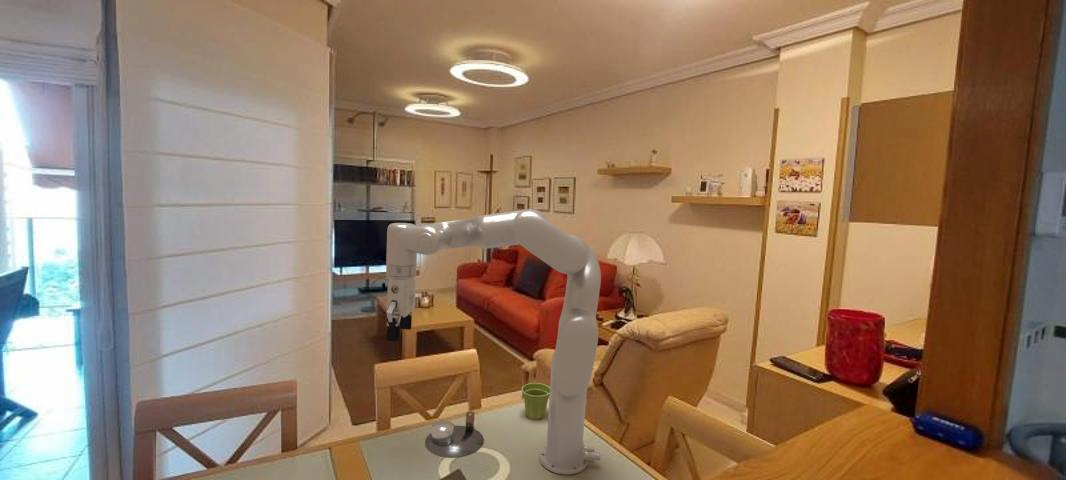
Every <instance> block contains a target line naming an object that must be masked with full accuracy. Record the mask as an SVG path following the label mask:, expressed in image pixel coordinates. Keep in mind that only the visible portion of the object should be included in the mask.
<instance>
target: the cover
mask: <svg viewBox="0 0 1066 480" xmlns="http://www.w3.org/2000/svg"><path fill="white" fill-rule="evenodd" d="M454 426H455V424H454V423H453V422H452V421H451V420H447V419H446V420H445V419H443V420H438V421H435V422H433V423H432V424H431V432H430V433H431V442H432V443H433V444H435V445H439V446H443V445H448V444H450V443H451V442H452V441H453V434H454Z"/></svg>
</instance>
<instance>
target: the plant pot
mask: <svg viewBox="0 0 1066 480" xmlns="http://www.w3.org/2000/svg"><path fill="white" fill-rule="evenodd" d="M521 392H522V395H523V400H524V401H523V402H524V411H525V416H527V418H528V419H529V420H537V421H538V420H540V419H544V418H545V416H546V412H547V406H548V403H549V399H550V385H547V384H544V383H540V382H531V383H526V384H525V385H524V384H523V385H522V387H521Z"/></svg>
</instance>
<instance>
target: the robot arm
mask: <svg viewBox="0 0 1066 480" xmlns="http://www.w3.org/2000/svg"><path fill="white" fill-rule="evenodd" d="M386 230H387V231H386V258H385V259H386V261H385V262H386V263H385V264H386V265H385V266H386V268H385V269H386V271H385V277H387V278H388V282H387V293H386V340H387V341H388V342H400V340H401V330H408V331H410V330H411V329H412V323H413V322H412V319H413V317H412V315H413V311H414V310H415V308H416V281H415V279H416V277H417V262H418V261H417V260H418V258H417V257H418V254H420V255H424V256H432V255H434V254H438V253H439V252H441V251H443V250H448V249H456V248H465V247H478V248H480V249H494V248H500V247H509V246H516V245H517V246H518V245H520V246H521V247H523V248H524V249H525V250H526V251H528V252H530V253H531V254H533V256H534V257H537V258H538V259H540V260H541V261H542V262H544V263H545V264H546V265H548V266H549V267H551V268H552V269H553V270H555V271H557V272H559V273H561V274H565V275H567V276H566V277H567V278H566V285H565V286H566V287H565V294H564V301H563V304H562V305H563V306H562V310H561V314H560V318H559V320H558V329H557V331H558V332H557V338H556V345H555V350H554V352H553V353H552V356H551V361H550V362H551V363H550V385H549V387H550V396H549V398H548V413H547V414H548V417H547V431H546V446H545V447H543V448H542V450H541V451H540V453H539V460H540V461H539V462H540V463H541V465H542V466H543V467H544V468H545V469H546V470H548V471H550V472H552V473H555V474H559V475H567V476H568V475H575V474H579V473H581V472H583V471H584V470H585V469H586V468H587V466H588V463H589V462H588V460H595V461H601V452H599V451H595V450H596V449H595V447H591V446H590V447H589V446H586V445H585V443H584V441H585V440H584V432H585V416H586V407H587V392H588V387H589V386H590V382H591V380H592V375H593V370H594V365H595V361H596V354H597V348H598V342H599V329H598V328H599V327H598V322H597V312H598V311H597V310H598V305H599V297H600V290H601V281H602V280H601V277H602V274H601V273H602V271H601V265H600V263H599V260H598V258H597V255H596V253H595V251H594V249H592V247H591V246H590V245H589V244H588V243H587V242H586V241H585V240H583V239H582V238H580V237H578V236H577V235H574V234H569V233H568V234H567V233H566V232H565V231H563V230H561V229H560V228H559V227H557V226H556V225H555V224H554V223H551V221H550V220H548V219H547V217H546V216H545V215H544V213H543V212H542V211H540V210H538V209H534V208H527V209H521V210H520V209H519V210H512V211H506V212H504V211H503V212H498V213H490V214H482V215H477V216H474V217H471V218H463V219H457V220H456V219H455V220H449V221H441V222H433V223H429V224H425V225H415V224H413V223H408V222H394V223H390V224H389V225H388V226H387V229H386Z"/></svg>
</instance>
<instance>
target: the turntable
mask: <svg viewBox="0 0 1066 480" xmlns="http://www.w3.org/2000/svg"><path fill="white" fill-rule="evenodd" d="M475 416H476V415H475V411H470V410H469V411H467V412H465V425H454V434H453V441H452V442H451V443H450V444H448V445H443V446H439V445H435V444H433V443H432V442H431V432H429V434H428V435H427V436H426V438H425V439H424V441H425V442H424V445H425V448H426V450H427V451H428V452H430V453H431V454H432V455H435V456H437V457H442V458H447V459H457V458H465V457H467V456H470V455H473V454H475V453H478V451H480V449H482V447H483V446H484V443H485V438H484V436H483V434H482V433H481V432H480V431H478V430H477V429H475Z"/></svg>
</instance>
